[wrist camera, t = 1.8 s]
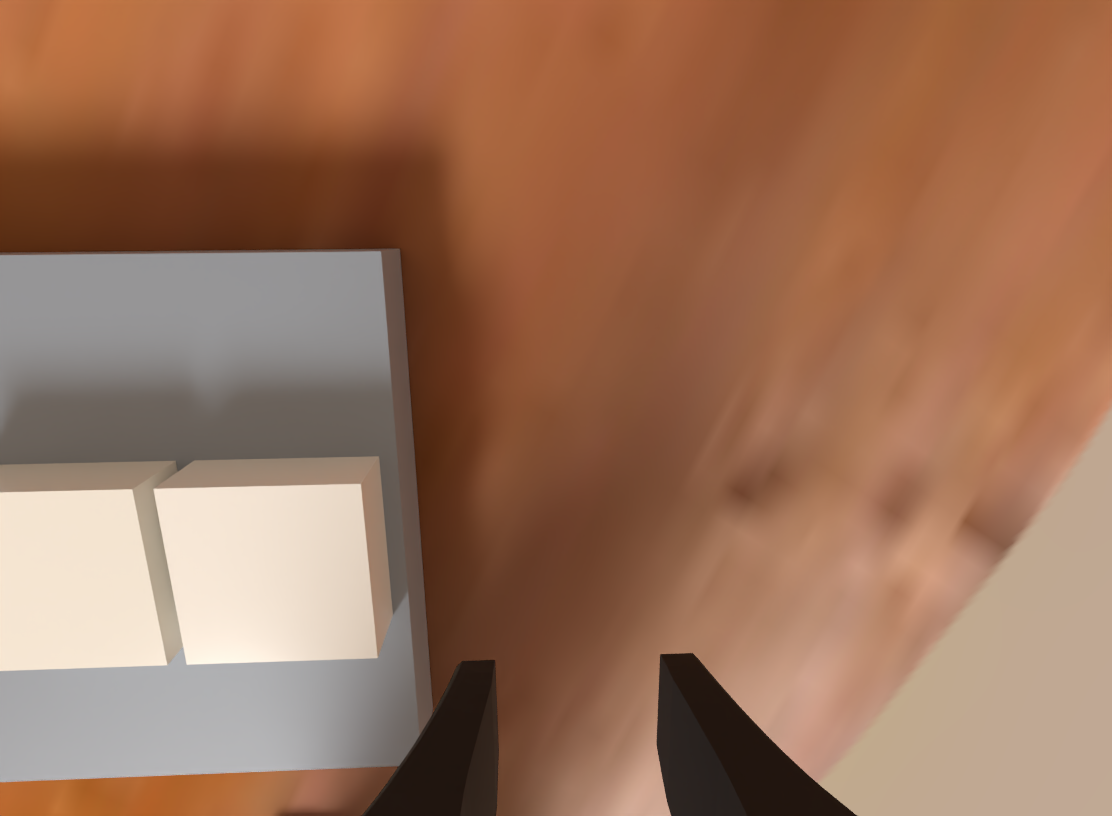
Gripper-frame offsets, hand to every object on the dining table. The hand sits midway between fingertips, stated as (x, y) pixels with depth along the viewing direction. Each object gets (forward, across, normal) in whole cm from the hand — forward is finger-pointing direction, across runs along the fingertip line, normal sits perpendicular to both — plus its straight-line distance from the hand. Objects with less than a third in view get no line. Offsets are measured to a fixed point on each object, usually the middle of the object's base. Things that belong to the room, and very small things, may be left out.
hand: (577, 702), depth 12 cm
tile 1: (+7, +8, 0) cm, 10 cm away
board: (+9, +12, 0) cm, 15 cm away
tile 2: (+7, +13, 0) cm, 15 cm away
